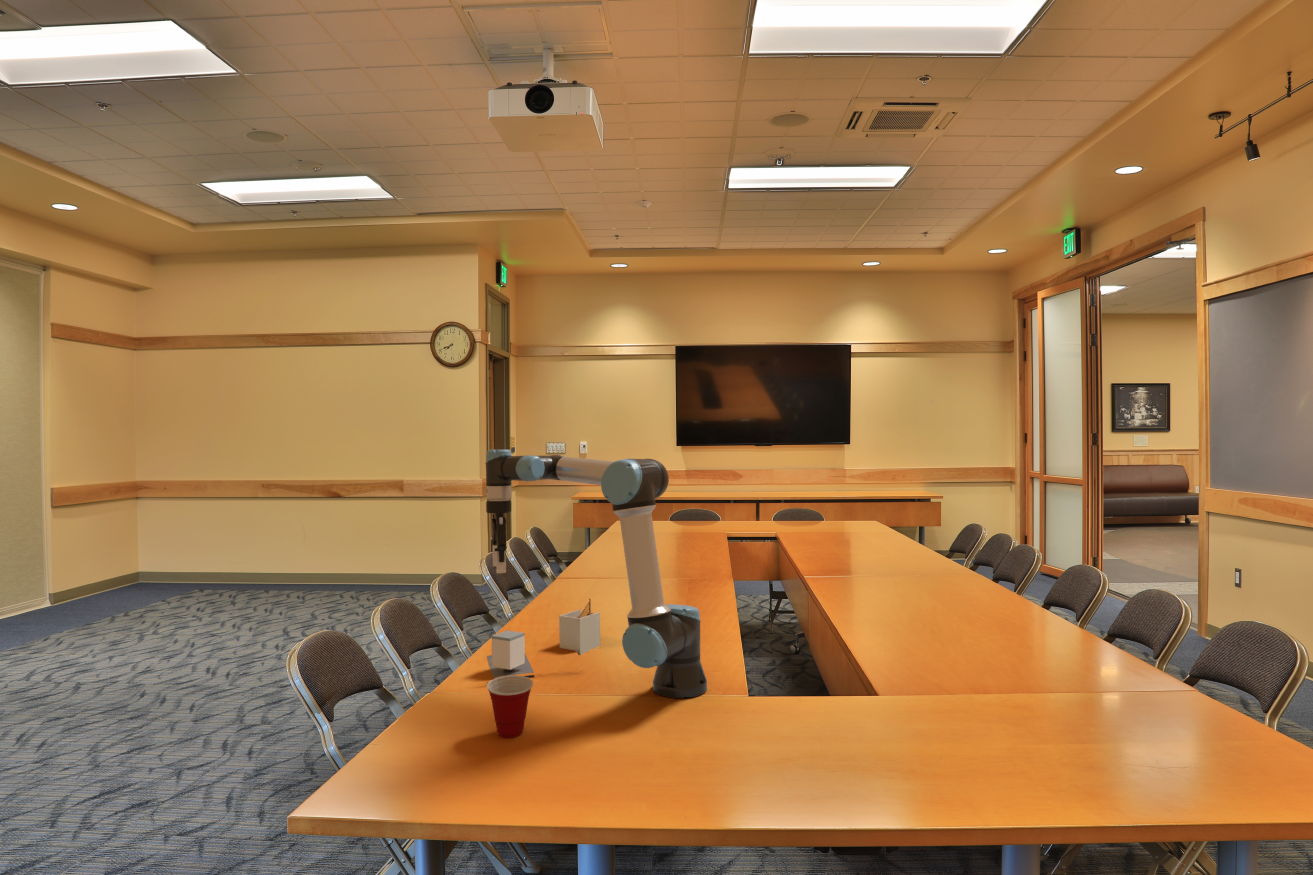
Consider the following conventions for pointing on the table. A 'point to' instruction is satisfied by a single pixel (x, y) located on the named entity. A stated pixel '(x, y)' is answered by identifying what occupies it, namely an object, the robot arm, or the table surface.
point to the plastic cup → (510, 703)
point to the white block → (508, 649)
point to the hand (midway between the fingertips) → (499, 569)
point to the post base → (516, 670)
